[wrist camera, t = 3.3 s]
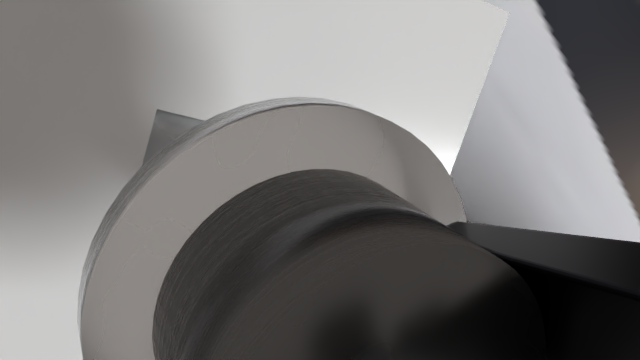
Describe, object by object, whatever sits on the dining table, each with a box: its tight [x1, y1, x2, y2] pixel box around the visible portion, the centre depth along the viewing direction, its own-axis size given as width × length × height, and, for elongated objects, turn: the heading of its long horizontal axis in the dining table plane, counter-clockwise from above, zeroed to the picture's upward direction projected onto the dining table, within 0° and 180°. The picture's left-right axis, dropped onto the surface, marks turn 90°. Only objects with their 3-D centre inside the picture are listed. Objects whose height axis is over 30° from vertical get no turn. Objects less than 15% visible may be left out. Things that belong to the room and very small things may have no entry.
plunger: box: [77, 97, 546, 360], centre depth 10 cm, size 8×8×8 cm
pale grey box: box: [0, 0, 510, 360], centre depth 14 cm, size 11×14×6 cm
